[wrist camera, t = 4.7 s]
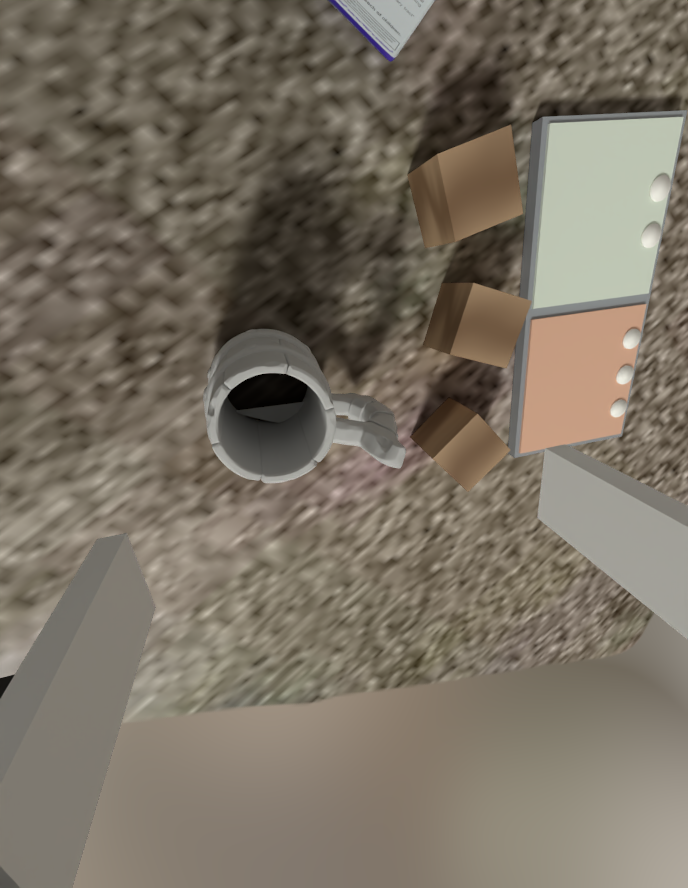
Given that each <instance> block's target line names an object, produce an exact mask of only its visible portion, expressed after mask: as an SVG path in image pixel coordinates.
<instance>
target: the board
mask: <svg viewBox="0 0 688 888" xmlns="http://www.w3.org/2000/svg"><path fill="white" fill-rule="evenodd" d="M686 114H687V110H683V111H661V112H639V113H616V114H594V115H572V116H550V117H542V118H540V119H538V120H536V121H535V122H533V124H532V137H531V151H530V164H529V177H528V190H527V204H526V217H525V230H524V244H523V257H522V270H521V283H520V297H521V298H524V299H527V300H530V301H532V303H531V305H530V308H529V310H528V313H527V316H526V318H525V321H524V324H523V326H522V329H521V331H520V334H519V337H518V339H517V342H516V350H515V363H514V376H513V390H512V403H511V416H510V429H509V443H508V448H509V449H510V451H509V452H508V454H510V455H511V456H513V457H514V458H516V457H521V456H526V455H531V454H535V453H540V452H545V448H549V447H554V446H559V445H564V444H566V445H568V446H575V445H580V444H585V443H590V442H595V441H600V440H605V439H610V438H615V437H620V436H622V433H623V428H624V423H625V418H626V413H627V408H628V403H629V398H630V393H631V388H632V383H633V378H634V373H635V368H636V363H637V358H638V353H639V348H640V343H641V338H642V333H643V328H644V323H645V318H646V313H647V308H648V304H649V299H650V294H651V289H652V284H653V279H654V274H655V269H656V264H657V259H658V254H659V249H660V244H661V239H662V234H663V229H664V224H665V219H666V214H667V209H668V204H669V199H670V194H671V189H672V184H673V179H674V174H675V169H676V164H677V159H678V154H679V149H680V144H681V139H682V134H683V129H684V124H685V119H686Z"/></svg>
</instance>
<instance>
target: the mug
mask: <svg viewBox="0 0 688 888" xmlns="http://www.w3.org/2000/svg"><path fill="white" fill-rule="evenodd" d="M266 373H281V374H288V375H290V376H293V377H295V378H297V379H299V380H301V381H303V382H304V383H305V384H307V391H306V394H305V397H304V399H303V401H302V402H299V403H291V404H283V405H275V406H268V407H260V408H252V409H244V410H237V409H235V407H234V406H233V405H232V404H231V402H230V401H229V399H228V397H227V396H228V394H229V393H230V391H231V389H233V388H234V387H236V386H237V385H238V384H239V383H241V382H243V381H244V380H246V379H248V378H250V377H253V376H256V375H260V374H266ZM203 400H204V407H205V416H206V420H207V431H208V437H209V439H210V442H211V444H212V448H213V450H214V452H215V454H216V455H217V457H218V458H219V459H220V460H221V461H222V463H223V464H224V465H225V466H227V467H228V468H229V469H230V470H232V471H233V472H234V473H236V474H238V475H240V476H242V477H244V478H247V479H251V480H260V478H261V480H262V481H263V482H264V483H280V482H285V481H289V480H292V479H295V478H298V477H300V476H302V475H304V474H306V473H308V472H309V471H311V470H312V469H313V468H314V467H315V466H316V465H317V462H320V461H321V460H322V459H323V458H324V457H325V455H326V454H327V452H328V451H329V449H330V447H331V445H332V443H340V444H345V445H354V446H359V447H362V448H363V449H364V450H365V451H366V452H368V453H369V454H370V455H371V456H373V457H374V458H375V459H376V460H378V461H379V462H381V463H383V464H385V465H387V466H390V467H394V468H401V466H402V464H403V460H404V457H405V453H406V449H405V447H404V446H403V445H402V444H401V443H400V442H399V441H398V434H397V426H396V422H395V417H394V414H393V412H392V411H391V410H390V409H389V408H387V407H386V406H385V405H383V404H382V403H380V402H378V401H377V400H376V399H374V398H372V397H370V396H364V395H358V394H355V393H348V394H331V390H330V387H329V384H328V382H327V380H326V378H325V376H324V375H323V373H322V371H321V370H320V367H319V365H318V362H317V360H316V359H315V357H314V355H313V354H312V353H311V350H310V349H309V347H308V346H307V345H305V344H303V343H302V342H301V341H299V340H298V339H297V338H295V337H294V336H292V335H290V334H287V333H285V332H282V331H278V330H273V329H255V330H254V329H251V330H248V331H246V332H244V333H241V334H239V335H237V336H235V337H234V338H232V339H231V340H229V341H228V342H227V343H226V344H225V345H224V346H223V347H222V348H221V349H220V350H219V352H218V353H217V354H216V356H215V357H214V359H213V362H212V365H211V367H210V369H209V371H208V386H207V387H206V388H205V390H204V395H203ZM336 415H347V416H348V418H349V419H351V420H348V419H342V418H337V417H336ZM247 416H250V417H254V418H258V419H262V420H267V421H257V420H256V419H252V418H249V417H247ZM316 461H317V462H316Z"/></svg>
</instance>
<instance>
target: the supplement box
mask: <svg viewBox="0 0 688 888" xmlns="http://www.w3.org/2000/svg"><path fill="white" fill-rule="evenodd" d="M328 1H329V2H330V3H331V4H332V5H333V6H334V7H335V8H336V9H337V10H338V11H339V12H340V13H341V14H342V15H343V16H344V17H345V18H346V19H347V20H348V21H349V22H350V23H351V24H352V25H353V26H354V27H355V28H356V29H357V30H358V31H359V32H360V33H361V34H362V35H363V36H364V37H365V38H366V39H367V40H368V41H369V42H370V43H371V44H372V45H373V46H374V47H375V48H376V49H377V50H378V51H379V52H380V53H381V54H382V55H383V56H384V57H385V58H386V59H387V60H389V61H393V60H394V59H395V57H396V56H397V55H398V53H399V52H400V51H401V49H402V48H403V46H404V45H405V43H406V42H407V40H408V39H409V37H410V36H411V35H412V33H413V32H414V30H415V29H416V27H417V26H418V24H419V23H420V21H421V20H422V18H423V17H424V15H425V14H426V13H427V11H428V10H429V8H430V7H431V5H432V4H433V2H434V1H435V0H328Z"/></svg>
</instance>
